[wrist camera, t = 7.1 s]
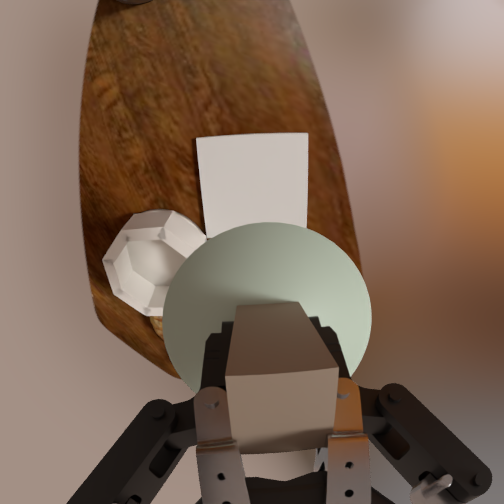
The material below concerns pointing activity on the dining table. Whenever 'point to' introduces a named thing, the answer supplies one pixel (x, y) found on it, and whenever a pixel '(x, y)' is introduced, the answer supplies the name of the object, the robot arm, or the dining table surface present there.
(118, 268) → the bowl
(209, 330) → the lid
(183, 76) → the dining table surface
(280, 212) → the mat
